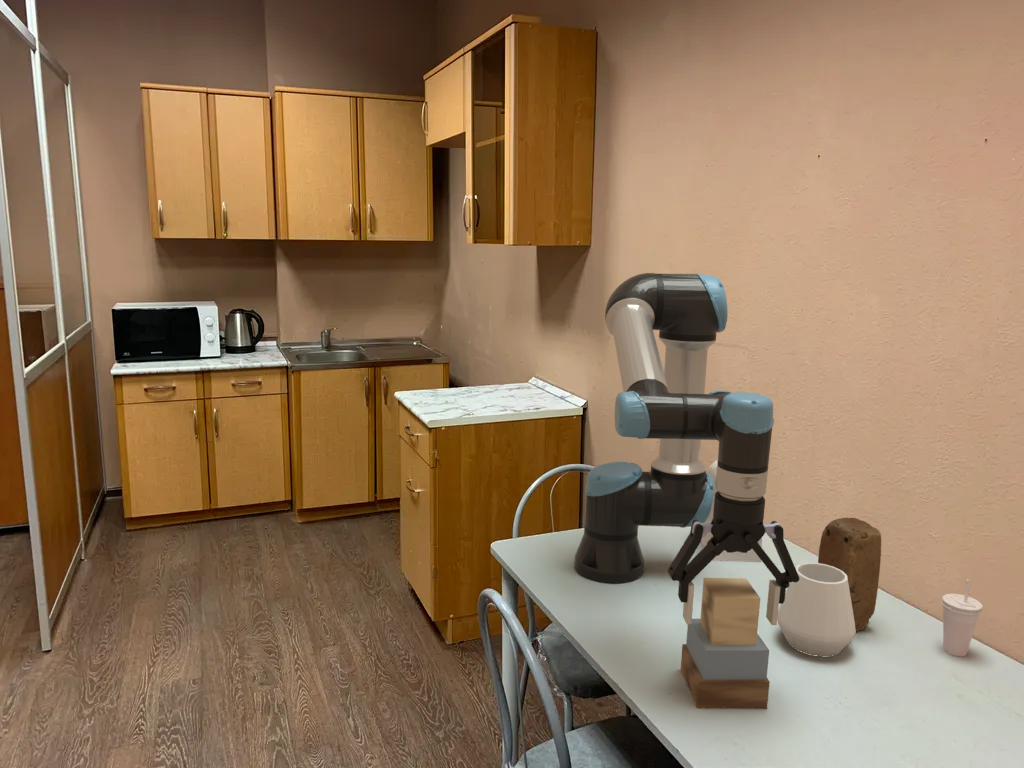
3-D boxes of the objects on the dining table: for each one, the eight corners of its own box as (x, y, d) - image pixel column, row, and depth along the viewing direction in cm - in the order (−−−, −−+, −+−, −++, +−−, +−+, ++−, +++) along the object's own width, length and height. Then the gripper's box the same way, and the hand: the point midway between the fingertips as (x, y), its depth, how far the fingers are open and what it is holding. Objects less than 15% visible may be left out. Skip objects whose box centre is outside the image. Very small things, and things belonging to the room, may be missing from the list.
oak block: (700, 623, 128) (703, 577, 126) (742, 623, 128) (746, 578, 127) (711, 645, 121) (715, 597, 120) (756, 645, 121) (760, 598, 120)
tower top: (686, 646, 130) (688, 618, 129) (744, 646, 131) (747, 618, 130) (703, 679, 120) (705, 650, 119) (766, 679, 121) (769, 650, 120)
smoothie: (960, 663, 136) (972, 589, 133) (927, 646, 141) (937, 574, 139) (983, 655, 139) (994, 582, 136) (949, 638, 144) (959, 568, 141)
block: (876, 631, 146) (889, 531, 142) (842, 636, 144) (854, 534, 140) (838, 605, 156) (849, 511, 153) (806, 608, 154) (816, 513, 151)
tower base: (680, 671, 132) (682, 644, 131) (744, 671, 132) (747, 644, 131) (697, 710, 121) (699, 681, 120) (766, 710, 121) (769, 681, 120)
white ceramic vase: (846, 672, 132) (855, 596, 129) (766, 648, 139) (773, 576, 136) (859, 638, 143) (867, 568, 141) (784, 618, 150) (791, 551, 148)
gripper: (665, 500, 116) (656, 631, 120) (830, 503, 116) (815, 633, 120) (654, 484, 123) (647, 608, 127) (810, 487, 124) (797, 610, 128)
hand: (729, 620), depth 124 cm, fingers open, 13 cm apart
